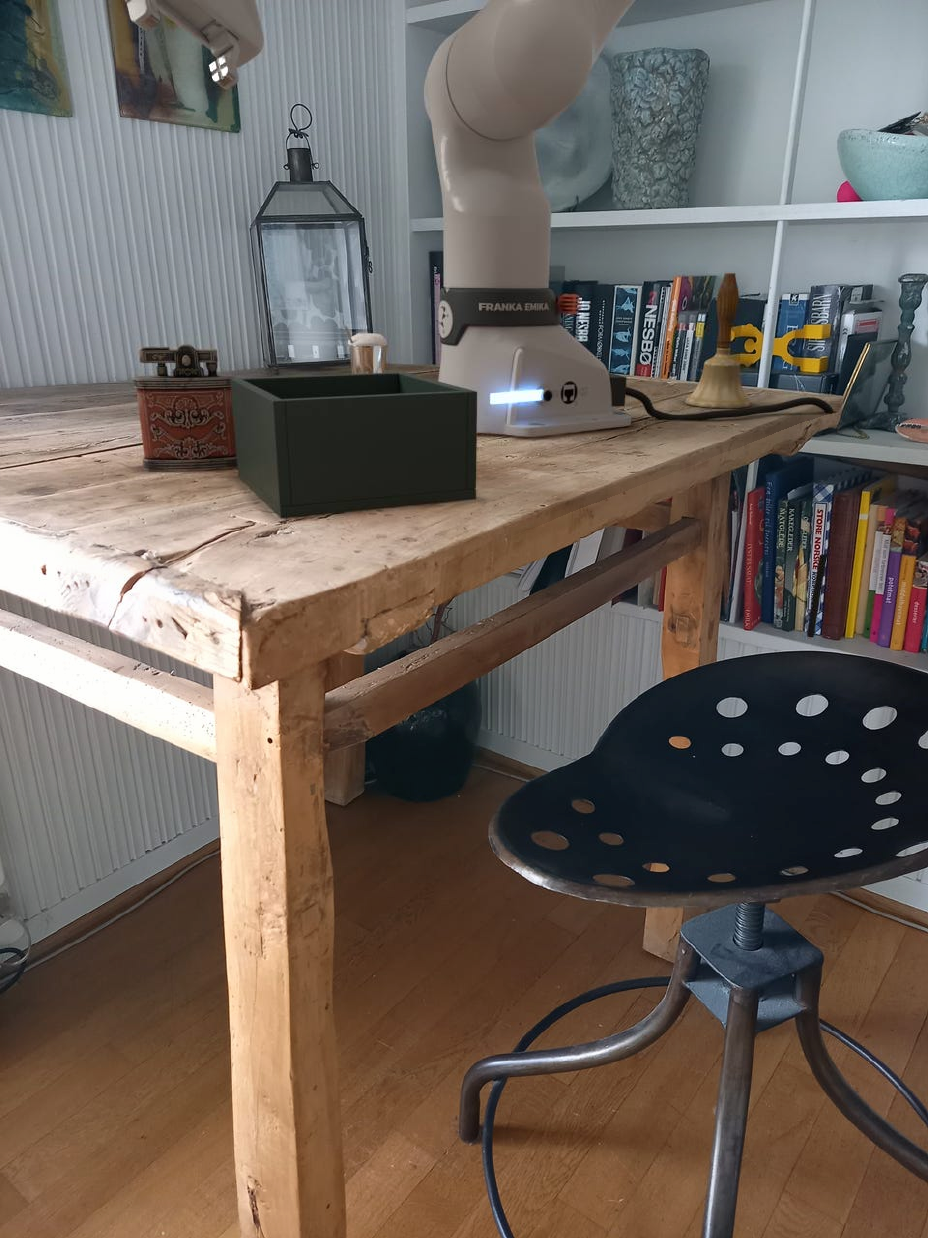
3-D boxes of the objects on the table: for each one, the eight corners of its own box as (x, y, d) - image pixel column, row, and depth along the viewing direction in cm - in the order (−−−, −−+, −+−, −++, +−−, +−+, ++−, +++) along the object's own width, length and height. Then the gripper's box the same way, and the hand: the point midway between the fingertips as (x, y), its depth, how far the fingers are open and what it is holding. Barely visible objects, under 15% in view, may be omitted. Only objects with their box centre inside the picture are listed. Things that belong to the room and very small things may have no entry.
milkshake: (337, 412, 108) (333, 324, 104) (373, 408, 111) (371, 323, 107) (359, 417, 104) (357, 326, 101) (396, 412, 108) (394, 325, 104)
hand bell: (740, 410, 112) (756, 273, 106) (676, 405, 116) (688, 272, 110) (758, 403, 119) (773, 273, 113) (696, 398, 123) (708, 272, 117)
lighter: (241, 461, 79) (232, 342, 76) (241, 468, 76) (231, 345, 73) (145, 464, 78) (131, 343, 74) (141, 472, 75) (126, 346, 71)
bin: (405, 463, 79) (404, 371, 76) (476, 499, 67) (477, 391, 64) (238, 476, 73) (229, 378, 71) (280, 518, 61) (272, 401, 58)
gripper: (77, -219, 65) (118, -46, 64) (257, -43, 84) (291, 93, 83) (20, -165, 68) (59, 2, 67) (206, -6, 87) (239, 127, 86)
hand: (188, 54), depth 75 cm, fingers open, 8 cm apart
